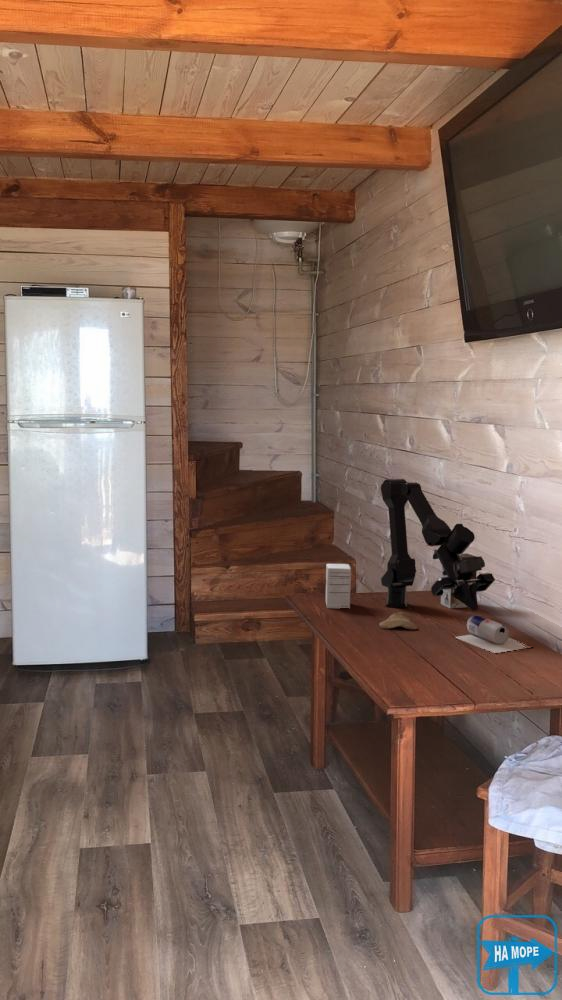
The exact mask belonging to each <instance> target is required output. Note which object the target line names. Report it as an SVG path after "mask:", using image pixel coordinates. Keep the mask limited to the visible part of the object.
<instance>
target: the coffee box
mask: <svg viewBox="0 0 562 1000" xmlns="http://www.w3.org/2000/svg"><path fill="white" fill-rule="evenodd" d="M459 555H460V557H461V559H462V560H470V559H473V558H476V557H478V556H476V555H473V554H470V553H462V554H459ZM443 571H444V568H443V566H442V565H441V578H443V577H448V576H447V575H443V573H442V572H443ZM477 572H478V571H476V572H474V573H475V575H474V576H473V577H471V579H475V578H476V577H477ZM452 593H453V592H452V589H443V595H442V596H440V605H442V606H443V607H447V608H448V609H460V608H469V607H468V606H466V605H465V604H464V603H462V602H461V601H459V600H458V599H456V598H454V597H451V594H452Z"/></svg>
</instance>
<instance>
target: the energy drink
mask: <svg viewBox="0 0 562 1000" xmlns="http://www.w3.org/2000/svg"><path fill="white" fill-rule="evenodd" d="M466 628H467V631H468V632H469V634H471V635H472V634H474V635H477V636H479V637H481V638H484V639H486V640H488V641H491V642H493V643H495V644H504V643H505V642H506V641H507V640H508V638H510V637H509V636H510V631H509V628H508V627H507V626H506V625H505V624H502V623H499V622H497V621H494V620H492V619H489V618H487V617H484V616H482V615H478V614H473V615H471V616H470V617H469V618H468V619H467V622H466Z"/></svg>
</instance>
